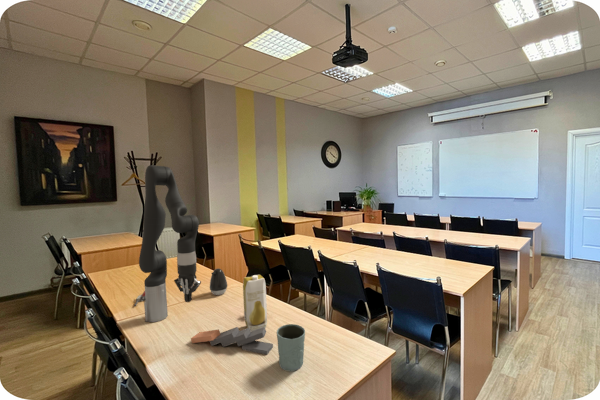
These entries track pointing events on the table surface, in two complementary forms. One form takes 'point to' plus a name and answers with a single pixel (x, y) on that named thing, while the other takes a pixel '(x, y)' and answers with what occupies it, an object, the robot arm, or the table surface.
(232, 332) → the domino
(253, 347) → the domino
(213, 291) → the black rounded cone
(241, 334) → the domino
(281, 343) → the grey green cup
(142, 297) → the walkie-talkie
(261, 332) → the domino
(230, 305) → the table surface
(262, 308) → the juice carton
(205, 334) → the domino
